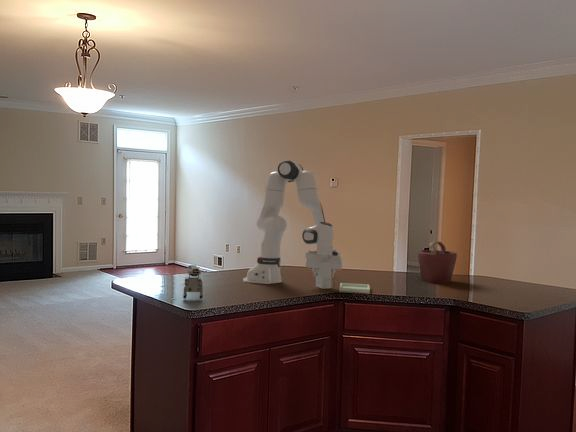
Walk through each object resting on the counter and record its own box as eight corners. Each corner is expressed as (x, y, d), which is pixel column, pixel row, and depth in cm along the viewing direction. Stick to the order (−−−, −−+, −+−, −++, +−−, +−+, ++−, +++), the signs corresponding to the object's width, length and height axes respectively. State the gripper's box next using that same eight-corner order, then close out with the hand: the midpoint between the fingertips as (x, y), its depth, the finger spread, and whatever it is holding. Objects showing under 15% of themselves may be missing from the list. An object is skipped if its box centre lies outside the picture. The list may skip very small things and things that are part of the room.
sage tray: (339, 291, 282) (339, 287, 281) (340, 286, 297) (340, 282, 297) (369, 293, 280) (369, 289, 279) (368, 288, 295) (369, 284, 295)
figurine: (203, 295, 261) (204, 264, 260) (201, 299, 249) (202, 268, 249) (185, 294, 260) (185, 264, 260) (182, 299, 249) (183, 267, 248)
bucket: (439, 286, 311) (441, 243, 310) (407, 280, 328) (409, 240, 327) (461, 282, 327) (463, 242, 326) (430, 277, 344) (432, 239, 343)
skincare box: (331, 288, 291) (332, 261, 290) (321, 289, 288) (322, 261, 288) (324, 286, 298) (325, 259, 298) (314, 286, 296) (315, 260, 295)
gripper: (305, 251, 291) (304, 276, 291) (342, 253, 288) (341, 278, 288) (306, 250, 297) (305, 274, 297) (343, 252, 294) (341, 276, 295)
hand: (323, 276), depth 293 cm, fingers open, 8 cm apart
